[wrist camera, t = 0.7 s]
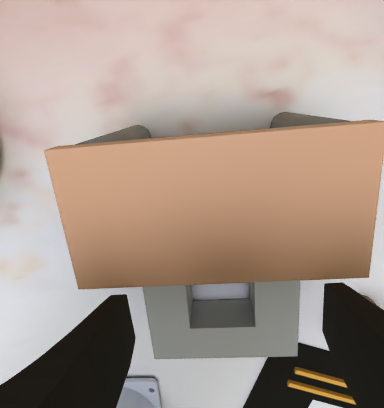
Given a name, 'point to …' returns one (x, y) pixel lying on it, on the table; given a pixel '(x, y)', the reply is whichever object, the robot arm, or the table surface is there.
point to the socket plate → (224, 322)
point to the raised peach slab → (221, 203)
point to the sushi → (300, 381)
